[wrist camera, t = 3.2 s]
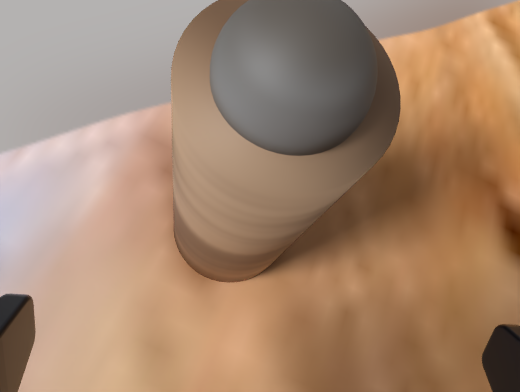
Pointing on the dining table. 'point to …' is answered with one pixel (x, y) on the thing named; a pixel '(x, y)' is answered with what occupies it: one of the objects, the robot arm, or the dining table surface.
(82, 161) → the dining table surface
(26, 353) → the robot arm
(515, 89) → the dining table surface
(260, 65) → the pepper mill
